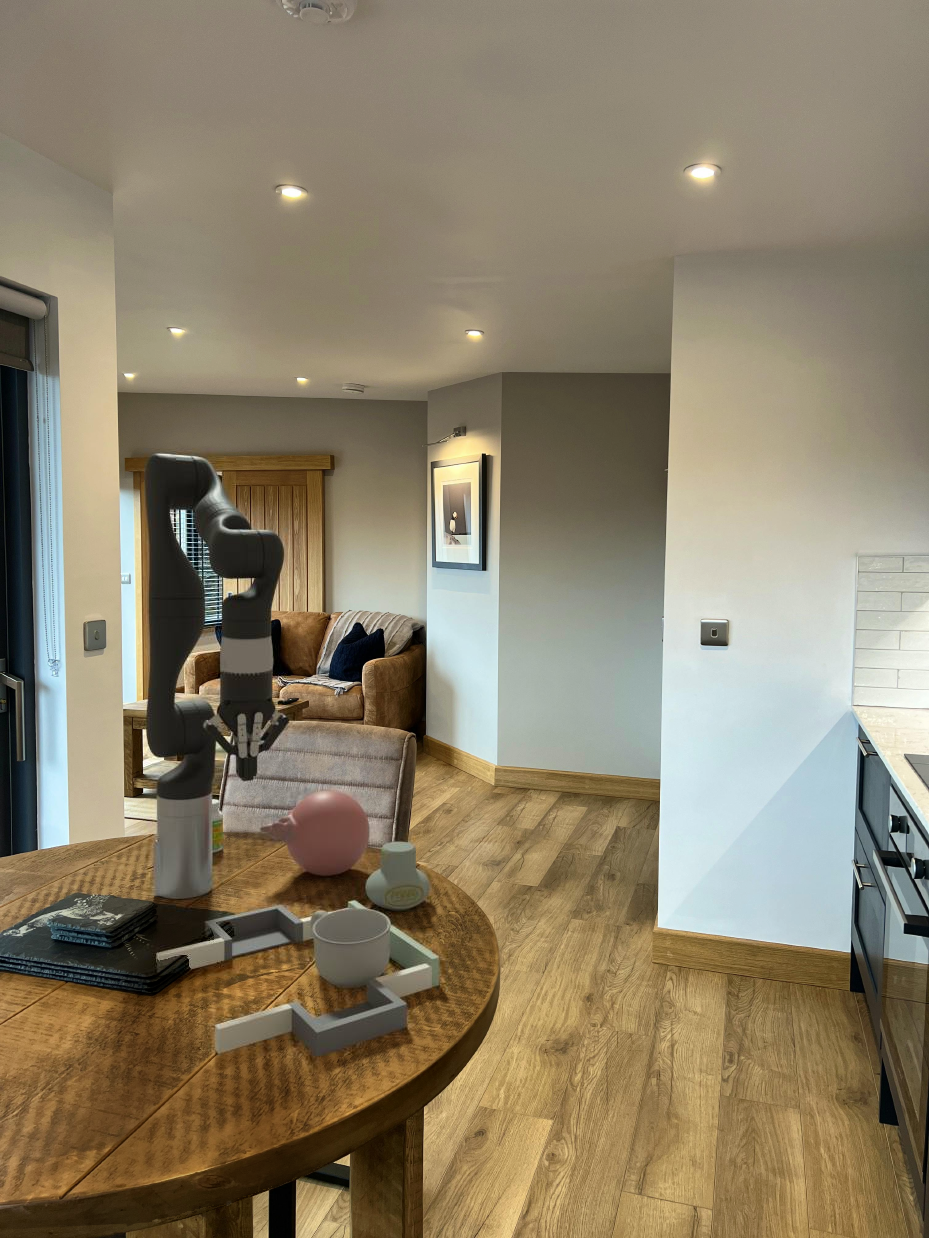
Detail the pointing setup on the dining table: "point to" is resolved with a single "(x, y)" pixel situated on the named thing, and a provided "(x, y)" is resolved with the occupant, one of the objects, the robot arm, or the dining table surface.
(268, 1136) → the dining table surface
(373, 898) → the air freshener
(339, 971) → the teacup
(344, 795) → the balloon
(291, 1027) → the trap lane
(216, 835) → the supplement bottle
